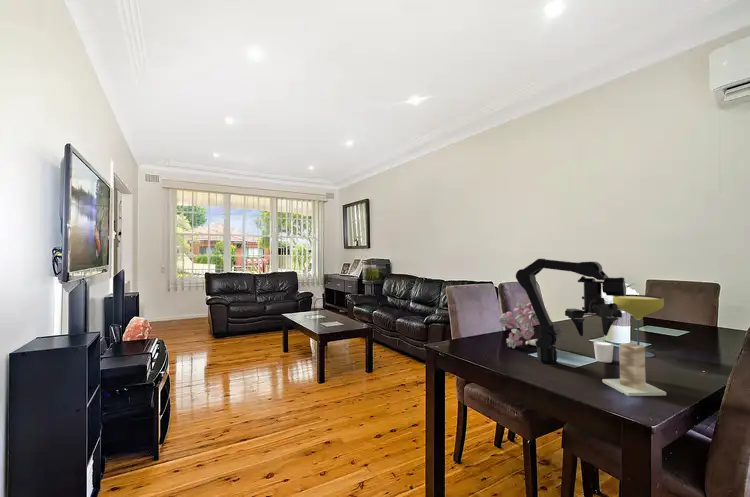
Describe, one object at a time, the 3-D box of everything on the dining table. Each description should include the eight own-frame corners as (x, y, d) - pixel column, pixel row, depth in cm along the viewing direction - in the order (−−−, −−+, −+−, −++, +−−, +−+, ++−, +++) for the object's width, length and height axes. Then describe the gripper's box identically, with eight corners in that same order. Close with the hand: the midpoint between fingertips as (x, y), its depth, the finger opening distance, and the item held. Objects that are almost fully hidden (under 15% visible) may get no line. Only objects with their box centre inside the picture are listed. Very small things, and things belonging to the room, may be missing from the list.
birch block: (619, 384, 116) (619, 344, 117) (628, 381, 119) (628, 342, 119) (636, 389, 112) (635, 348, 112) (645, 386, 114) (644, 346, 114)
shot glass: (617, 363, 141) (616, 345, 142) (598, 362, 143) (597, 345, 143) (609, 358, 148) (608, 341, 148) (591, 357, 150) (591, 341, 150)
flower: (493, 335, 185) (492, 294, 175) (538, 331, 182) (539, 290, 172) (503, 362, 167) (502, 319, 157) (553, 358, 164) (555, 314, 154)
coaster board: (628, 396, 109) (628, 392, 109) (602, 382, 121) (602, 379, 121) (666, 395, 109) (666, 392, 109) (636, 381, 121) (636, 378, 121)
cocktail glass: (649, 362, 142) (647, 300, 143) (604, 351, 159) (603, 295, 159) (674, 356, 149) (673, 297, 150) (629, 346, 166) (628, 293, 166)
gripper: (581, 297, 125) (582, 341, 125) (632, 296, 126) (633, 340, 126) (563, 294, 136) (564, 334, 136) (611, 293, 137) (611, 333, 137)
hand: (593, 335), depth 133 cm, fingers open, 9 cm apart
